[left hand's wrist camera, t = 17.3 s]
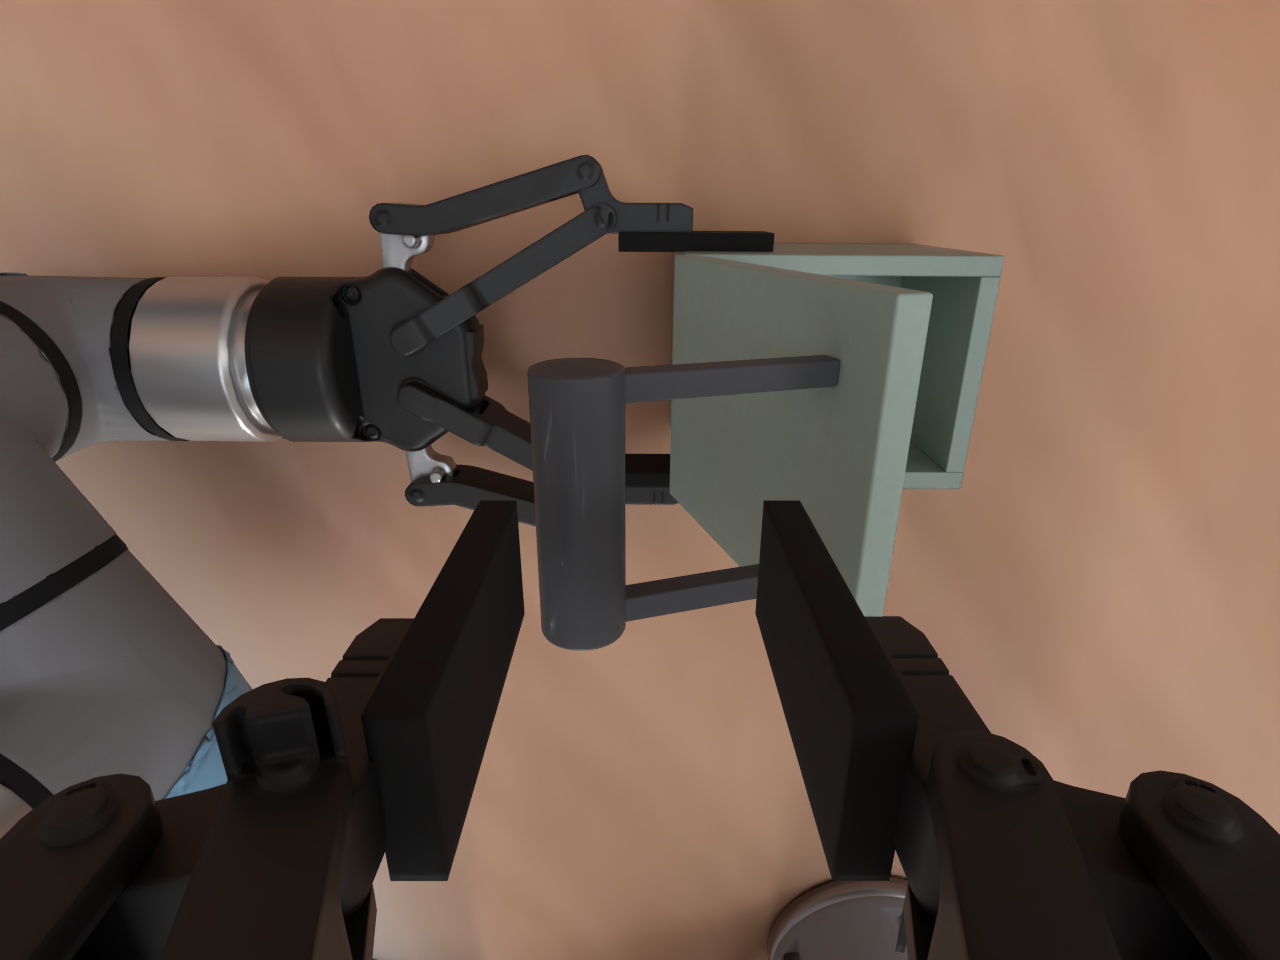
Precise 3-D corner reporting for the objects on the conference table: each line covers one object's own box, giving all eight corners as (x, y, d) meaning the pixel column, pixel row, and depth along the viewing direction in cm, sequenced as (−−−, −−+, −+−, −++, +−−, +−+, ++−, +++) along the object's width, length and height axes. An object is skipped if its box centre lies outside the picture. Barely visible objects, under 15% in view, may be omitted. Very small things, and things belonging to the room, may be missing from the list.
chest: (915, 244, 36) (1005, 255, 27) (889, 426, 40) (960, 489, 31) (674, 242, 36) (685, 253, 27) (670, 425, 40) (678, 487, 31)
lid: (935, 292, 15) (543, 306, 13) (875, 671, 19) (562, 741, 16) (697, 254, 27) (471, 257, 24) (689, 490, 31) (491, 515, 28)
